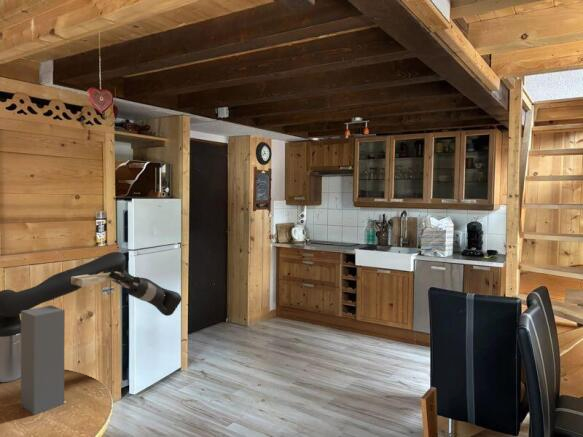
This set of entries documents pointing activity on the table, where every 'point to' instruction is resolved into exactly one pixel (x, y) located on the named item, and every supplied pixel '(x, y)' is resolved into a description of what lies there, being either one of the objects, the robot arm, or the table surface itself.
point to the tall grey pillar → (42, 358)
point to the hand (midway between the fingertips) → (108, 273)
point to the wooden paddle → (91, 279)
